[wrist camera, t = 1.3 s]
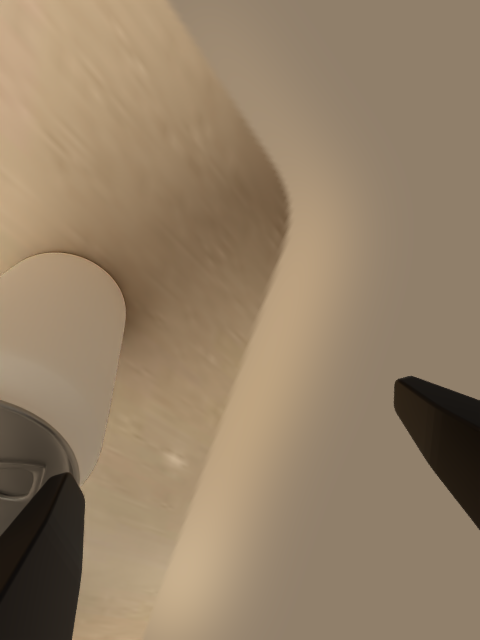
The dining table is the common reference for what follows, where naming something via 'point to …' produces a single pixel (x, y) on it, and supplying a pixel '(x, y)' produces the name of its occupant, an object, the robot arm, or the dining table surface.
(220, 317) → the dining table surface
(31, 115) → the dining table surface
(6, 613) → the robot arm
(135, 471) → the dining table surface
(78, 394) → the can
